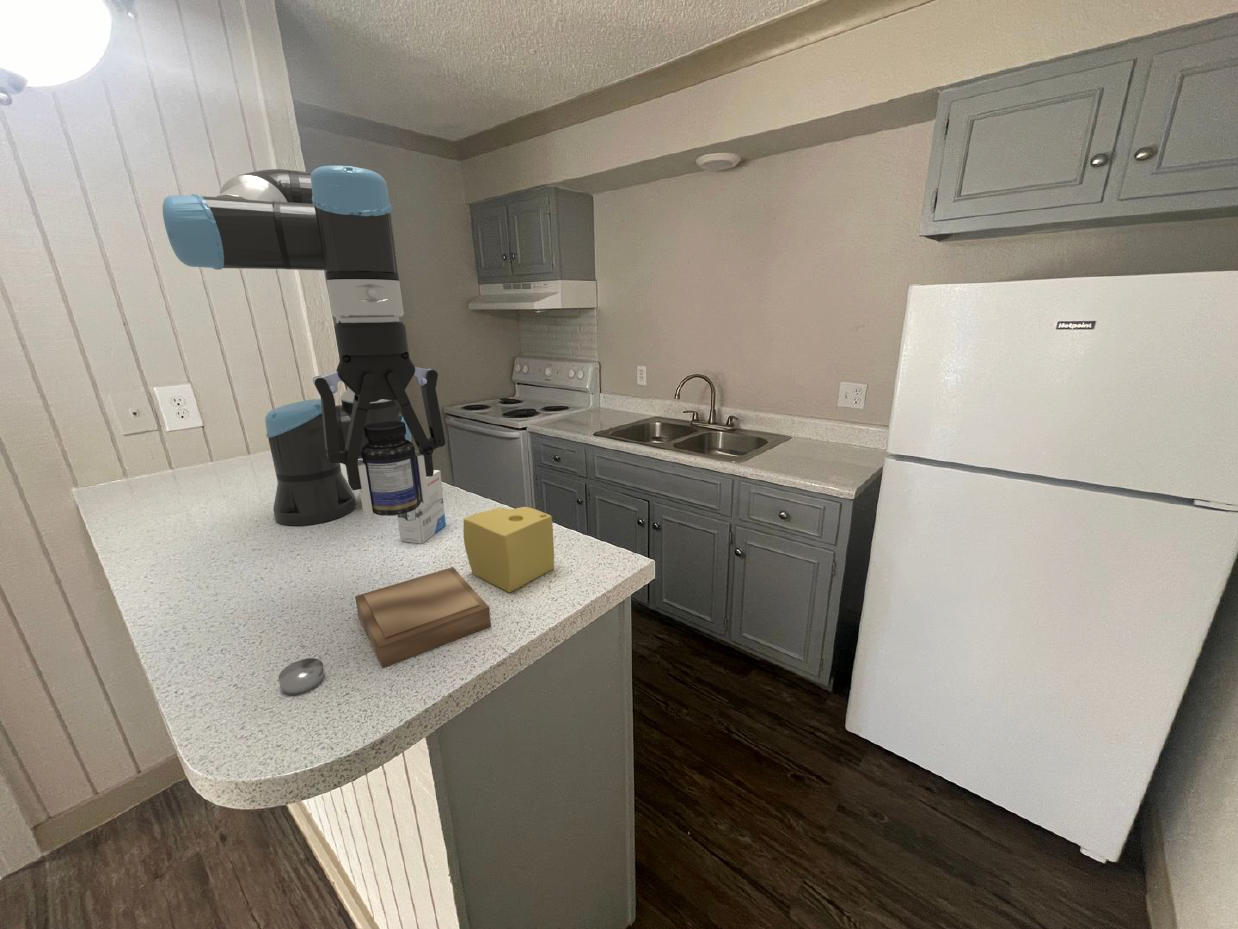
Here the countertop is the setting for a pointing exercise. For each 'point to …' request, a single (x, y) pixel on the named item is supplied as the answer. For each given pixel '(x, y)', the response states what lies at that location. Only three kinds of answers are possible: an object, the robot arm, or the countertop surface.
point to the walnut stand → (421, 614)
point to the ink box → (424, 514)
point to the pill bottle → (391, 469)
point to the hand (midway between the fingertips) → (396, 506)
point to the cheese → (509, 545)
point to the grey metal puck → (301, 676)
